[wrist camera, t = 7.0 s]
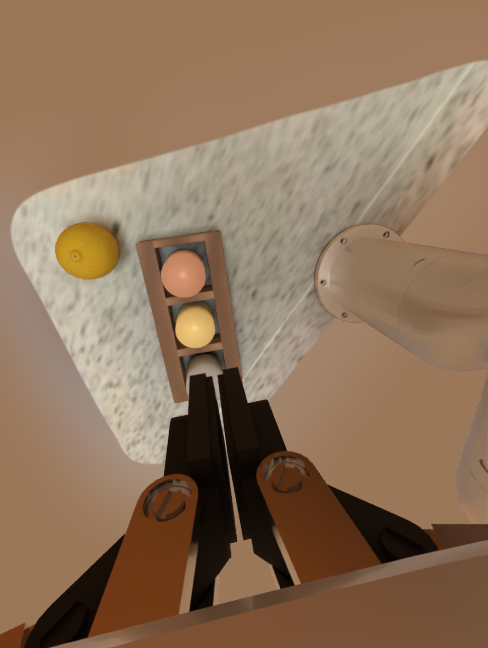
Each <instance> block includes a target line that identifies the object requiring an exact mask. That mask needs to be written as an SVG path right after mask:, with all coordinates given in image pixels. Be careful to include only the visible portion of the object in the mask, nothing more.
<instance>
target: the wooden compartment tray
mask: <svg viewBox="0 0 488 648" xmlns="http://www.w3.org/2000/svg"><path fill="white" fill-rule="evenodd" d="M200 241H204V242H205V248H206V254H207V259H208V265H209V271H210V277H211V283H212V285H209V286H203V288H202V289H201V290H200V291H199V292H198V293H197V294H196V295H194V296H191V297H186V298H182V297H177V296H175V295H173V294H171V293H170V292H168V291H167V290H166V288H165V287H164V285H163V283H162V280H161V271H162V263H161V259H160V254H159V250H158V248H159V247H166V246H173V245H179V244H186V243H193V242H200ZM136 247H137V251H138V256H139V260H140V264H141V268H142V272H143V276H144V280H145V284H146V288H147V293H148V297H149V301H150V305H151V309H152V313H153V317H154V321H155V325H156V330H157V334H158V338H159V342H160V346H161V350H162V354H163V358H164V363H165V367H166V371H167V375H168V379H169V383H170V387H171V391H172V395H173V400H174V403H178V402H184V401H189V396H188V394H187V391H186V380H187V377H186V373H185V368H184V364H183V359H182V356H186V355H191V354H197V353H203V352H208V351H214V350H220V349H223V355H224V361H225V367H226V369H229V368H235V367H238V369H239V373H240V377H241V380H242V376H241V369H240V362H239V355H238V349H237V342H236V335H235V329H234V322H233V315H232V308H231V302H230V295H229V288H228V281H227V275H226V268H225V261H224V254H223V248H222V241H221V234H220V231H219V230H216V231H209V232H202V233H195V234H188V235H181V236H174V237H167V238H160V239H153V240H146V241H140V242H138V243H136ZM213 298H214V301H215V307H216V313H217V319H218V325H219V331H220V333H219V334H214V337H213V339H212V340H211V341H210V342H209V343H208V344H207V345H205V346H203V347H200V348H190V347H187V346H185V345H183V344H182V343H181V342H180V341H178V338H177V336H176V332H175V328H176V327H175V322H174V318H173V313H172V309H171V305H176V304H182V303H188V302H194V301H201V300H207V299H213ZM242 384H243V382H242Z"/></svg>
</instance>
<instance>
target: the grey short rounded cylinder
mask: <svg viewBox="0 0 488 648" xmlns="http://www.w3.org/2000/svg"><path fill="white" fill-rule="evenodd" d="M202 373H206V377H209V376H212V377H213V382H214V387H215V393H216V398H217V400H218V399H219V398H220V393H219V385H218V378H217V375H219V374H223V372H222V366H221V363H220V361H219V360H218V359H217V358H216V357H215V356H213V355H210V354H200V355H197V356H195V357H194V358H192V359H191V360H190V362H189V364H188V366H187V380H186V391H187V394H188V396H189V378H190V376H191V375H196V374H202Z"/></svg>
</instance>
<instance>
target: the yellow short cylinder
mask: <svg viewBox="0 0 488 648" xmlns="http://www.w3.org/2000/svg"><path fill="white" fill-rule="evenodd" d="M175 332H176V336H177V338H178V340H179V341H180V342H181V343H182V344H183V345H185V346H187V347H190V348H200V347H203V346H205V345H207V344H208V343H209V342H210V341H211V340H212V339H213V337H214V334H215V326H214V319H213V314H212V311H211V309H210V308H209V306H208V305H206V304H205V303H203V302H200V301H194V302H188V303H186V304H184V305H183V306H182V307H181V308H180V310H179V312H178V316H177V322H176V328H175Z"/></svg>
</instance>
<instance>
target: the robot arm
mask: <svg viewBox="0 0 488 648" xmlns="http://www.w3.org/2000/svg"><path fill="white" fill-rule="evenodd" d="M383 233H384V235H383ZM341 239H342V242H341V243H340V240H341ZM321 280H322V283H320V281H321ZM315 288H316V293H317V296H318V298H319V300H320V302H321V304H322V305H323V307H324V308H325V309H326V310H327V311H328V312H329V313H330V314H332V315H333V316H335V317H336V318H338V319H340V320H343V321H347V322H353V323H360V322H366V323H367V324H369V325H370V326H372V327H373V328H375V329H376V330H378V331H379V332H381V333H382V334H384V335H386V336H387V337H389V338H390V339H391V340H393V341H394V342H396V343H398V344H399V345H401V346H402V347H404V348H405V349H407V350H408V351H410V352H411V353H413V354H414V355H416V356H418V357H419V358H421V359H422V360H424V361H426V362H428V363H429V364H431V365H434V366H437V367H439V368H443V369H448V370H454V371H474V370H481V369H488V255H484V254H477V253H469V252H463V251H457V250H450V249H444V248H437V247H430V246H424V245H417V244H411V243H404V241H403V240H402V239H401V237H400V236H399V235H398V234H397V233H395V232H394V231H393V230H391V229H389V228H387V227H384V226H381V225H375V224H363V225H357V226H354V227H351V228H348V229H346V230H345V231H343V232H341V233H340V234H338V235H337V236H336V237H335V238H334V239H332V240H331V242H330V243H329V244H328V245H327V246H326V248H325V249H324V251H323V253H322V254H321V256H320V258H319V261H318V264H317V266H316V272H315ZM342 313H343V314H342ZM217 378H218V385H219V393H220V401H221V408H222V416H223V423H224V431H225V439H226V446H227V453H228V459H229V465H230V470H231V475H232V481H233V486H234V492H235V497H236V502H237V508H238V513H239V519H240V524H241V529H242V535H243V540H247V539H252V545H253V551H254V553H255V554H256V555H257V556H259V557H260V558H262V559H263V560H265V561H266V562H268V563H269V565H270V570H271V574H272V577H273V579H274V582H275V585H276V588H277V590H275V591H271V592H267V593H263V594H259V595H255V596H251V597H247V598H243V599H239V600H235V601H231V602H227V603H223V604H219V605H218V601H219V585H220V584H219V575H218V574H219V573H220V571H221V570H222V568H223V567H224V566H225V564H226V563H227V561H228V560H229V558H231V549H230V543H234V542H237V535H236V527H235V519H234V511H233V503H232V496H231V488H230V479H229V471H228V463H227V455H226V448H225V441H224V436H223V430H222V425H221V420H220V414H219V409H218V403H217V398H216V393H215V387H214V382H213V377H212V376H209V377H206V373H202V374H196V375H191V376H190V378H189V406H188V415H184V416H179V417H174V418H171V421H170V428H169V436H168V445H167V453H166V461H165V470H164V477H162V478H160V479H157V480H156V481H154V482H153V483H152V484H150V485H149V486H148V487H147V488H146V489H145V490H144V491H143V492H142V494H141V496H140V497H139V499H138V501H137V504H136V506H135V509H134V512H133V515H132V517H131V520H130V523H129V525H128V528H127V531H126V534H124V535H123V536H122V537H121V538H120V539H119V540H118V541H117V542H116V543H115V544H114V545H113V546H112V547H111V548H110V549H109V550H108V551H107V552H106V553H104V554H103V555H102V556H101V557H100V558H99V559H98V560H97V561H96V562H95V563H94V564H93V565H92V566H91V567H90V568H89V569H88V570H87V571H86V572H85V573H84V574H83V575H82V576H81V577H80V578H79V579H78V580H77V581H76V582H74V583H73V584H72V585H71V586H70V588H68V589H67V590H66V591H65V592H64V593H63V594H62V595H61V596H60V597H59V598H58V599H57V600H56V601H55V602H54V603H53V604H52V605H51V606H50V607H49V608H48V609H47V610H46V611H45V612H44V614H43V615H42V616H41V617H40V618H39V619H38V621H37V623H36V624H35V625H32V626H31V627H28V626H27V624H26V623H23V624H21V625H19V626H17V627H14V628H13V629H10V630H8V631H6V632H4V633H2V634H0V648H488V374H487V377H486V381H485V384H484V387H483V390H482V393H481V399H480V402H479V404H478V407H477V410H476V413H475V415H474V418H473V421H472V424H471V426H470V429H469V433H468V435H467V438H466V440H465V443H464V446H463V450H462V452H461V455H460V459H459V463H458V466H457V470H456V491H457V495H458V499H459V502H460V504H461V506H462V508H463V510H464V512H465V514H466V515H467V517H468V518H469V519H470V521H471V522H472V524H431V528H430V529H421V528H420V527H419V526H417V525H416V524H414V523H412V522H410V521H409V520H406V519H404V518H402V517H400V516H398V515H395V514H393V513H391V512H388V511H386V510H384V509H382V508H379V507H377V506H375V505H373V504H370V503H368V502H366V501H364V500H361V499H359V498H357V497H354V496H352V495H350V494H348V493H345V492H343V491H341V490H339V489H336V488H334V487H332V486H330V485H327V483H326V482H325V480H324V479H323V478H322V476H321V475H320V473H319V472H318V470H317V469H316V467H315V466H314V464H313V463H312V462H311V461H310V460H309V459H308V458H307V457H305V456H303V455H301V454H299V453H296V452H291V451H287V449H286V447H285V444H284V442H283V439H282V436H281V434H280V431H279V428H278V426H277V423H276V421H275V418H274V415H273V413H272V410H271V407H270V405H269V402H268V400H267V399H266V400H261V401H256V402H251V403H248V402H247V399H246V395H245V391H244V388H243V384H242V380H241V377H240V373H239V369H238V367H235V368H229V369H224V370H223V374H219V375H217Z"/></svg>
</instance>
